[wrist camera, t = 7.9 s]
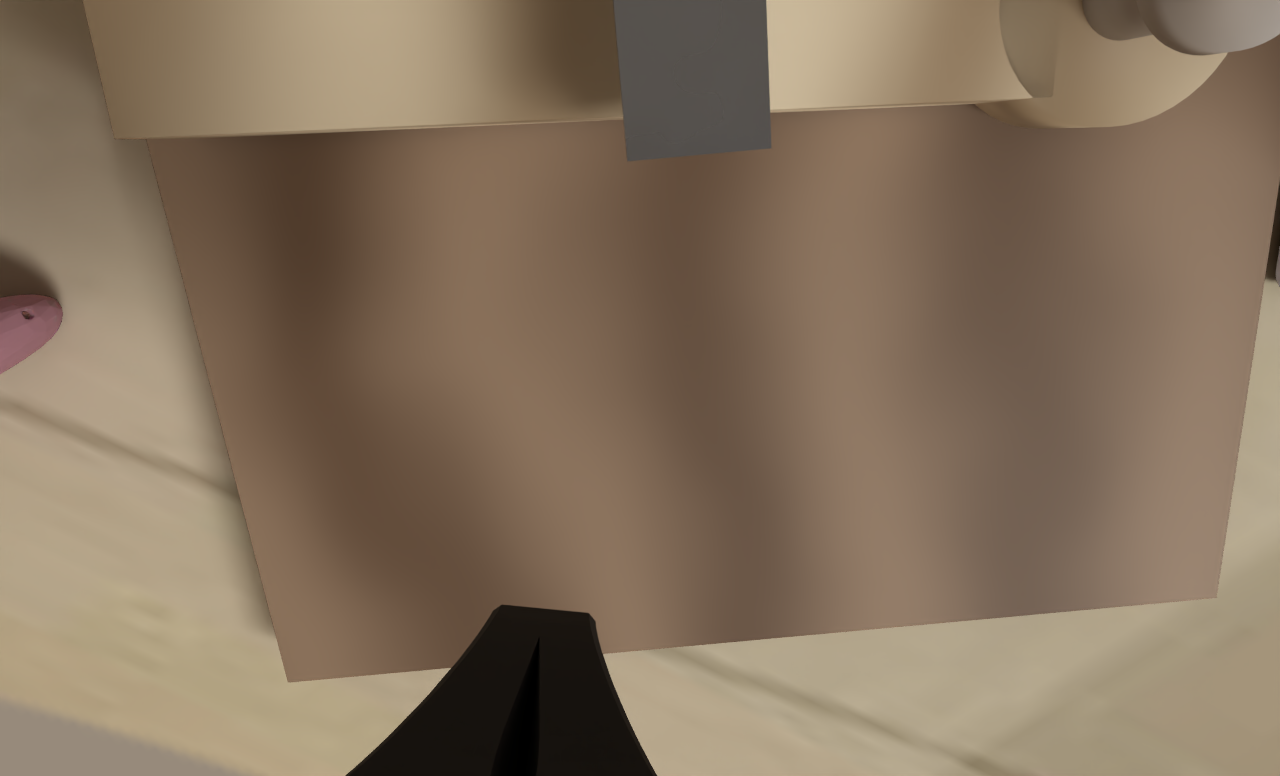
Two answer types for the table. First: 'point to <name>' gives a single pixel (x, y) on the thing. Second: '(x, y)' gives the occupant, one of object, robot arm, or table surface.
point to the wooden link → (588, 63)
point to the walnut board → (729, 369)
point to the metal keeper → (693, 76)
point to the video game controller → (26, 326)
